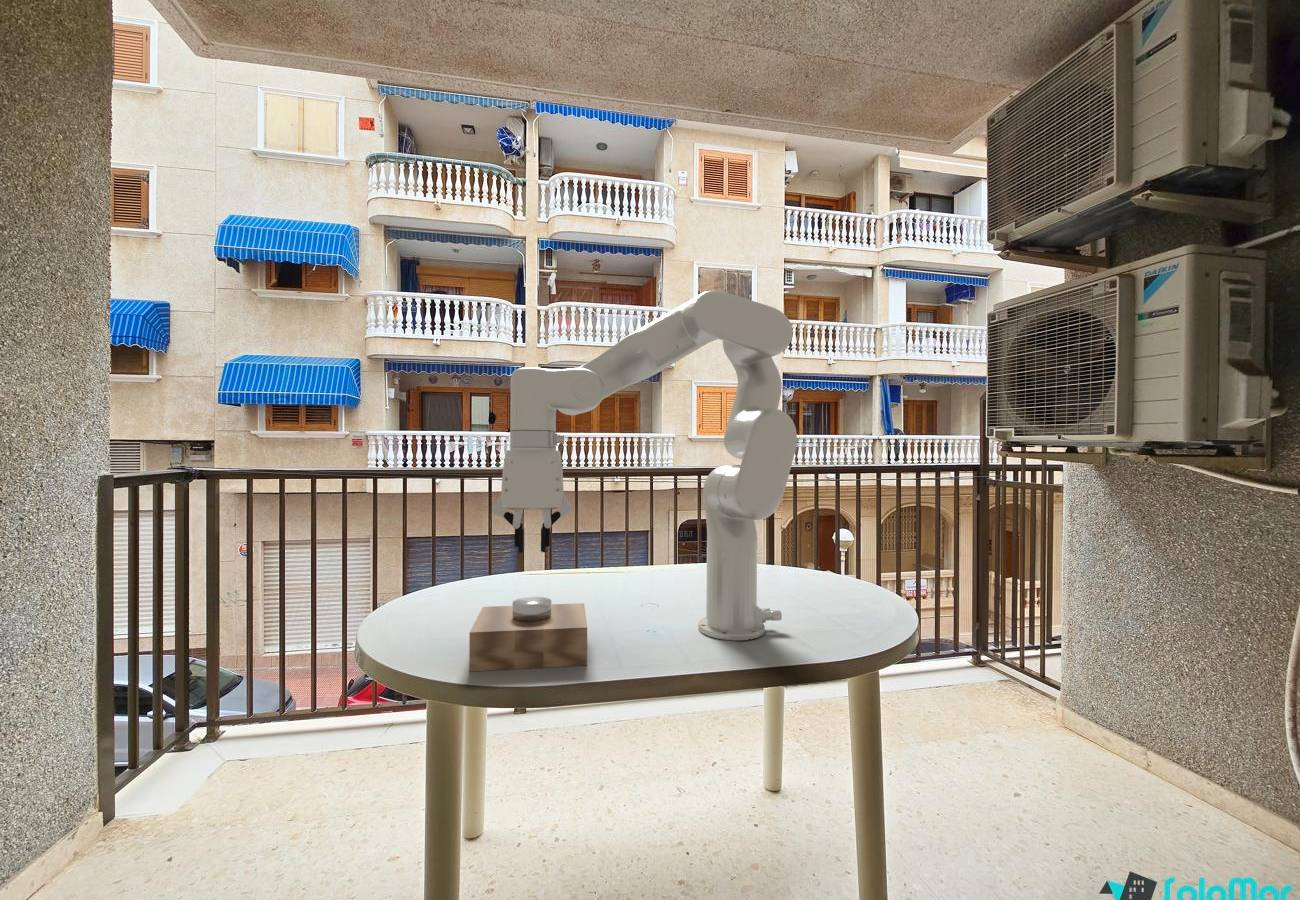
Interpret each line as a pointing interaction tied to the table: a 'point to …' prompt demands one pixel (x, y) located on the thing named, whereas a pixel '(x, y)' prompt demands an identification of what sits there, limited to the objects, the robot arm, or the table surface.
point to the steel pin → (531, 609)
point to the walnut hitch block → (528, 639)
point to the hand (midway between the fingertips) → (532, 550)
